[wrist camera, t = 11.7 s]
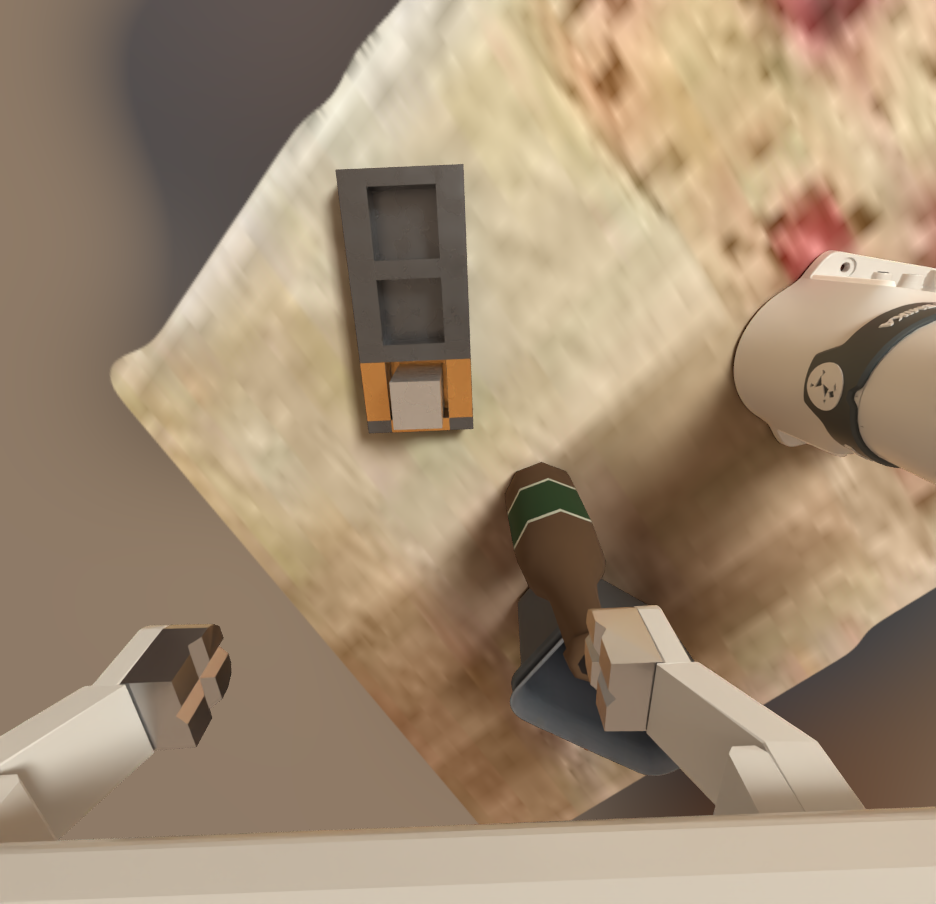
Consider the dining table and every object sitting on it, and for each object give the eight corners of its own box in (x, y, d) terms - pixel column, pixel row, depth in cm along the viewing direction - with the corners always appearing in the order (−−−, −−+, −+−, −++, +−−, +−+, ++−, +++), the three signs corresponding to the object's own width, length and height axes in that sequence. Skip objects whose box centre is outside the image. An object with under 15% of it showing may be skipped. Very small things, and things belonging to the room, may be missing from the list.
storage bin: (692, 606, 60) (758, 708, 46) (612, 685, 64) (651, 797, 51) (554, 526, 55) (584, 615, 42) (478, 618, 60) (484, 723, 47)
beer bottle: (504, 460, 52) (538, 618, 29) (577, 459, 52) (665, 616, 29) (502, 523, 55) (532, 710, 32) (571, 522, 55) (648, 708, 32)
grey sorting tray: (463, 170, 41) (463, 164, 38) (472, 417, 50) (473, 429, 46) (345, 176, 41) (335, 169, 38) (374, 421, 50) (368, 433, 46)
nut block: (442, 362, 47) (439, 380, 40) (444, 404, 48) (442, 428, 42) (399, 364, 47) (389, 382, 40) (402, 405, 48) (393, 430, 42)
